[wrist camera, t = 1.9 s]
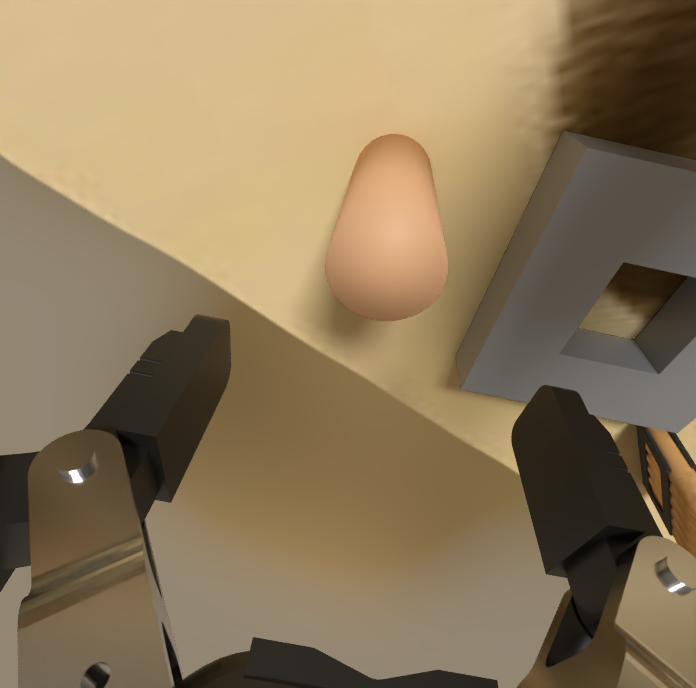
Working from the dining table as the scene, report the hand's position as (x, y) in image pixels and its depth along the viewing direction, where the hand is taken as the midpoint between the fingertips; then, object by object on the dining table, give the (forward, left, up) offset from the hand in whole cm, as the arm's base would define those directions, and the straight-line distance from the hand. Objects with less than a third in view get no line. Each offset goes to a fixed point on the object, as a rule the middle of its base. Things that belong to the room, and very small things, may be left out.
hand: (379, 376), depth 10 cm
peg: (0, 0, -16) cm, 16 cm away
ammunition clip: (+18, +28, -17) cm, 37 cm away
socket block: (+4, +16, -16) cm, 23 cm away
